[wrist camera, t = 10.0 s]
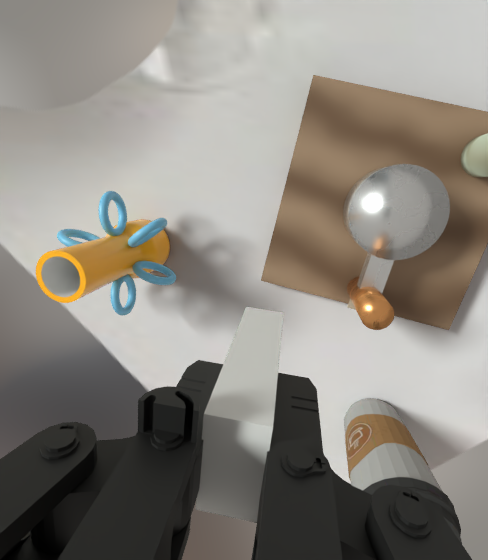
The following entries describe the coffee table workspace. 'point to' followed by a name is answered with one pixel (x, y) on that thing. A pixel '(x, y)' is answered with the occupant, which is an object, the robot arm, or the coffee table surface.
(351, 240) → the base
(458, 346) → the coffee table surface
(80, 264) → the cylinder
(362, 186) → the knob
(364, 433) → the coffee cup
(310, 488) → the robot arm
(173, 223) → the coffee table surface
